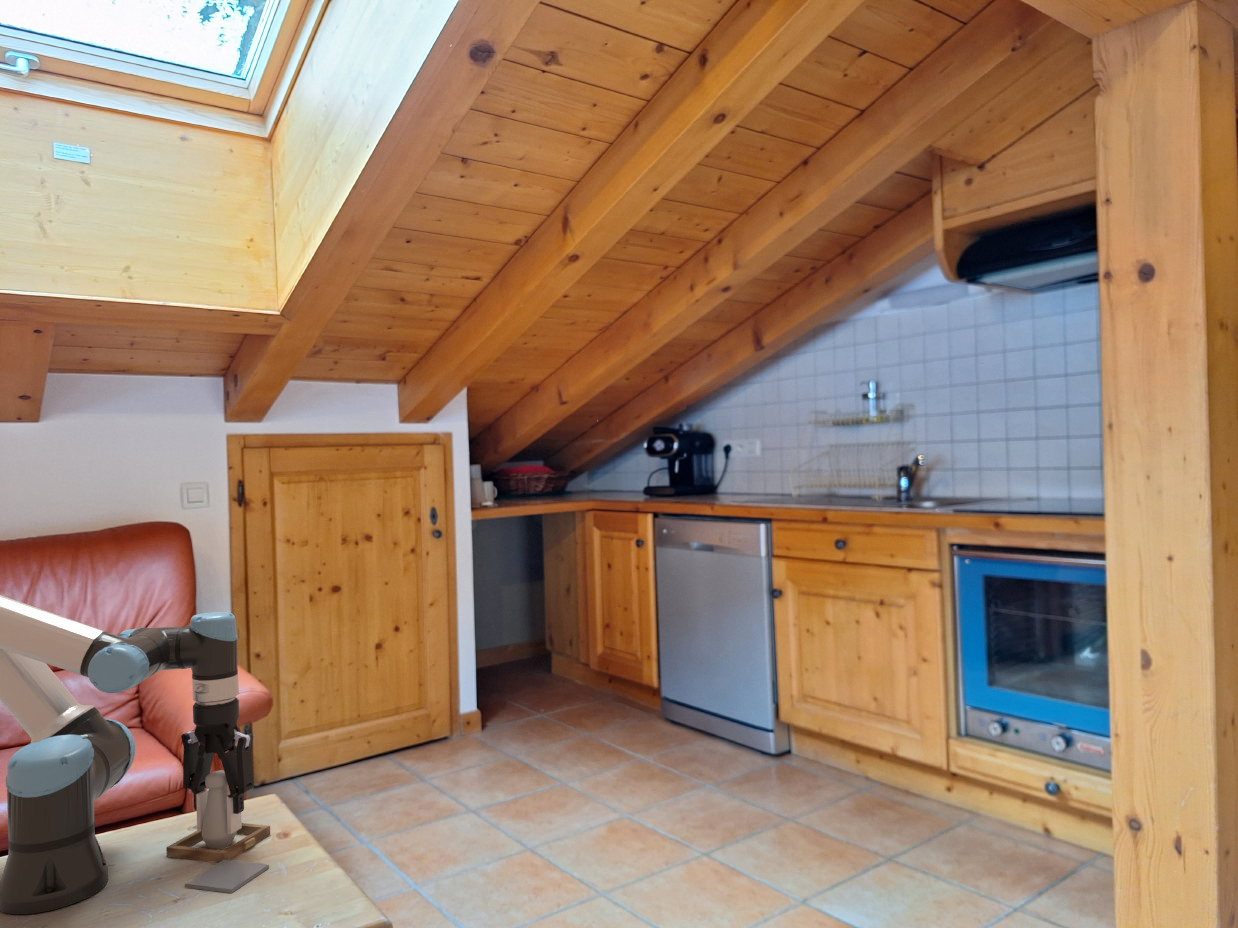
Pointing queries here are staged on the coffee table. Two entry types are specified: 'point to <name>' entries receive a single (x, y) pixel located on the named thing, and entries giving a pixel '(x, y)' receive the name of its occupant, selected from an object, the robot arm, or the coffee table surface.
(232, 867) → the coaster
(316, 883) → the coffee table surface
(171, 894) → the coffee table surface
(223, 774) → the salt shaker
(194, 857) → the brown wooden frame
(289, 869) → the coffee table surface
